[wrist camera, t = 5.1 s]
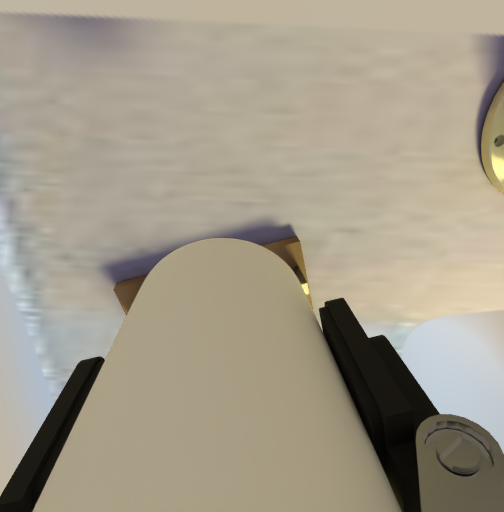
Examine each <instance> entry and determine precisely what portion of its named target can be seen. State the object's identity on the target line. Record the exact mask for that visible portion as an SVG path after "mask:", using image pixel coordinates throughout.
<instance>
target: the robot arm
mask: <svg viewBox="0 0 504 512" xmlns="http://www.w3.org/2000/svg"><path fill="white" fill-rule="evenodd" d="M481 154H482V162H483V165H484V169H485V172H486V174H487V176H488V178H489V179H490V181H491V183H492V184H493V185H494V186H495V187H496V188H497V189H498V190H499V191H500V192H502V193H504V82H503V84H502V85H501V87H500V89H499V90H498V92H497V94H496V95H495V97H494V99H493V101H492V104H491V106H490V108H489V111H488V113H487V116H486V120H485V123H484V127H483V131H482V141H481ZM319 312H320V318H321V323H322V329H323V334H324V336H325V338H326V341H327V343H328V345H329V347H330V350H331V352H332V354H333V356H334V359H335V361H336V363H337V365H338V368H339V370H340V372H341V374H342V377H343V379H344V381H345V383H346V386H347V388H348V390H349V392H350V395H351V397H352V399H353V402H354V404H355V406H356V408H357V411H358V413H359V415H360V417H361V420H362V422H363V424H364V426H365V429H366V431H367V433H368V436H369V438H370V440H371V442H372V445H373V447H374V449H375V451H376V454H377V456H378V458H379V460H380V463H381V465H382V467H383V470H384V472H385V474H386V476H387V479H388V481H389V483H390V486H391V488H392V490H393V492H394V495H395V497H396V499H397V501H398V504H399V506H400V508H401V511H402V512H504V454H503V452H502V450H501V448H500V446H499V444H498V442H497V441H496V440H495V439H494V438H493V436H492V435H491V434H490V433H489V432H488V431H487V430H485V429H484V428H482V427H481V426H480V425H478V424H477V423H475V422H473V421H470V420H468V419H466V418H464V417H460V416H456V415H451V414H448V415H447V414H439V412H438V411H437V409H436V408H435V407H434V405H433V404H432V402H431V401H430V399H429V398H428V396H427V395H426V394H425V392H424V391H423V390H422V388H421V386H420V385H419V384H418V382H417V381H416V379H415V378H414V376H413V375H412V374H411V372H410V371H409V369H408V368H407V366H406V365H405V364H404V362H403V361H402V359H401V358H400V356H399V355H398V354H397V352H396V351H395V349H394V348H393V346H392V345H391V344H390V342H389V341H388V339H387V338H386V337H385V336H384V335H380V336H375V337H371V338H368V337H367V335H366V333H365V332H364V330H363V328H362V327H361V325H360V324H359V322H358V320H357V319H356V317H355V316H354V314H353V312H352V311H351V309H350V307H349V306H348V304H347V303H346V301H345V299H344V298H339V299H335V300H331V301H327V302H325V307H323V308H319ZM104 361H105V360H104V358H102V357H95V358H90V359H86V360H82V361H80V362H79V363H78V365H77V366H76V368H75V370H74V371H73V373H72V375H71V377H70V378H69V380H68V382H67V383H66V385H65V387H64V389H63V390H62V392H61V394H60V395H59V397H58V399H57V400H56V402H55V404H54V406H53V408H52V409H51V411H50V413H49V414H48V416H47V417H46V419H45V421H44V423H43V424H42V426H41V428H40V430H39V431H38V433H37V435H36V436H35V438H34V440H33V442H32V443H31V445H30V447H29V448H28V450H27V452H26V453H25V455H24V457H23V458H22V460H21V462H20V464H19V465H18V467H17V469H16V470H15V472H14V474H13V475H12V477H11V479H10V481H9V482H8V484H7V486H6V487H5V489H4V491H3V492H2V494H1V496H0V512H33V510H34V508H35V505H36V503H37V501H38V499H39V497H40V495H41V493H42V491H43V489H44V487H45V484H46V482H47V480H48V478H49V476H50V474H51V472H52V470H53V468H54V466H55V463H56V461H57V459H58V457H59V455H60V453H61V451H62V449H63V447H64V445H65V443H66V441H67V438H68V436H69V434H70V432H71V430H72V428H73V426H74V424H75V422H76V420H77V418H78V415H79V413H80V411H81V409H82V407H83V405H84V403H85V401H86V399H87V397H88V395H89V393H90V390H91V388H92V386H93V384H94V382H95V380H96V378H97V376H98V374H99V372H100V370H101V368H102V366H103V363H104Z"/></svg>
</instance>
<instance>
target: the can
mask: <svg viewBox="0 0 504 512" xmlns="http://www.w3.org/2000/svg"><path fill="white" fill-rule="evenodd" d="M33 512H402V511H401V508H400V506H399V504H398V501H397V499H396V497H395V495H394V492H393V490H392V488H391V486H390V483H389V481H388V479H387V476H386V474H385V472H384V470H383V467H382V465H381V463H380V460H379V458H378V456H377V454H376V451H375V449H374V447H373V445H372V442H371V440H370V438H369V436H368V433H367V431H366V429H365V426H364V424H363V422H362V420H361V417H360V415H359V413H358V411H357V408H356V406H355V404H354V402H353V399H352V397H351V395H350V392H349V390H348V388H347V386H346V383H345V381H344V379H343V377H342V374H341V372H340V370H339V368H338V365H337V363H336V361H335V359H334V356H333V354H332V352H331V350H330V347H329V345H328V343H327V341H326V338H325V336H324V334H323V332H322V329H321V327H320V325H319V323H318V320H317V318H316V316H315V314H314V312H313V309H312V307H311V305H310V303H309V301H308V298H307V296H306V294H305V292H304V290H303V288H302V286H301V284H300V282H299V280H298V278H297V276H296V275H295V273H294V272H293V270H292V269H291V268H290V267H289V266H288V265H287V263H286V262H285V261H283V260H282V259H281V258H280V257H279V256H277V255H276V254H275V253H273V252H272V251H270V250H268V249H266V248H264V247H262V246H260V245H258V244H255V243H252V242H248V241H245V240H240V239H233V238H212V239H205V240H200V241H196V242H193V243H190V244H187V245H185V246H182V247H180V248H178V249H176V250H174V251H173V252H171V253H170V254H168V255H167V256H165V257H164V258H163V259H162V260H161V261H159V262H158V263H157V264H156V265H155V267H154V268H153V269H152V270H151V271H150V273H149V274H148V276H147V277H146V279H145V280H144V282H143V284H142V286H141V288H140V290H139V292H138V294H137V296H136V298H135V300H134V302H133V304H132V306H131V308H130V310H129V312H128V314H127V316H126V318H125V320H124V322H123V324H122V326H121V328H120V330H119V332H118V334H117V336H116V339H115V341H114V343H113V345H112V347H111V349H110V351H109V353H108V355H107V357H106V359H105V361H104V363H103V366H102V368H101V370H100V372H99V374H98V376H97V378H96V380H95V382H94V384H93V386H92V388H91V390H90V393H89V395H88V397H87V399H86V401H85V403H84V405H83V407H82V409H81V411H80V413H79V415H78V418H77V420H76V422H75V424H74V426H73V428H72V430H71V432H70V434H69V436H68V438H67V441H66V443H65V445H64V447H63V449H62V451H61V453H60V455H59V457H58V459H57V461H56V463H55V466H54V468H53V470H52V472H51V474H50V476H49V478H48V480H47V482H46V484H45V487H44V489H43V491H42V493H41V495H40V497H39V499H38V501H37V503H36V505H35V508H34V510H33Z"/></svg>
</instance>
